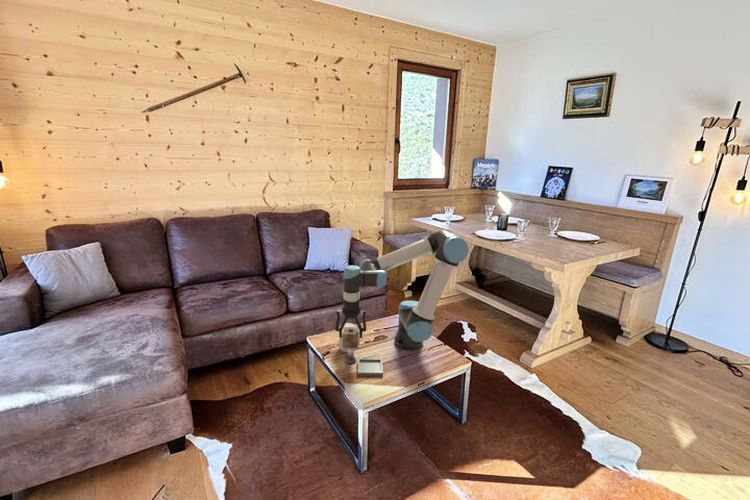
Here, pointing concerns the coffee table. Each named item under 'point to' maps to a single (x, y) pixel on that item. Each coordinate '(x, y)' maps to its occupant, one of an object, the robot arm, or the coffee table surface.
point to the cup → (341, 338)
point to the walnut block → (350, 337)
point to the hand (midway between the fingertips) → (350, 343)
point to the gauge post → (350, 356)
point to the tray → (370, 367)
